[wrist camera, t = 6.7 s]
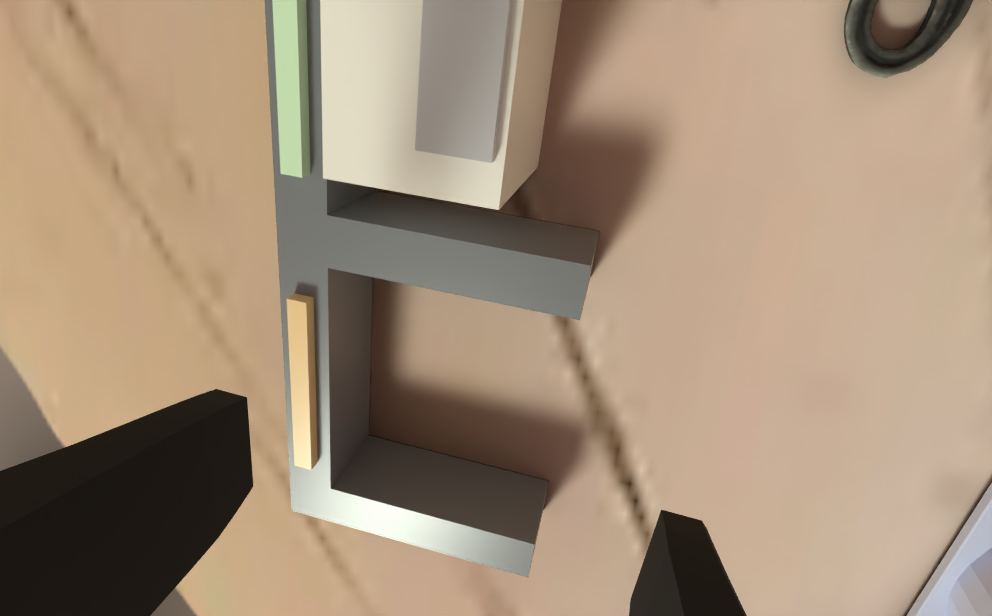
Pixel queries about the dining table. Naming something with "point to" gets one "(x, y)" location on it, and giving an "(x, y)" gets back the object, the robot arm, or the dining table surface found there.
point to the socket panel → (348, 318)
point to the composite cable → (934, 32)
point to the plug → (436, 94)
